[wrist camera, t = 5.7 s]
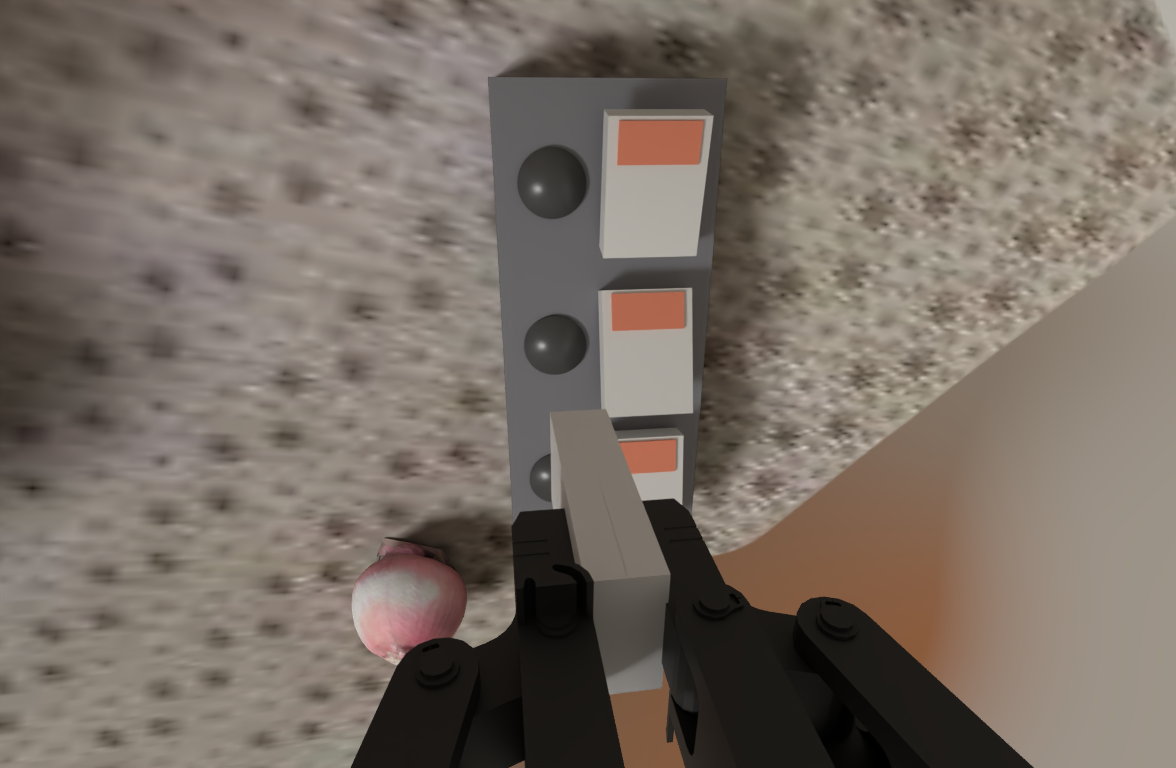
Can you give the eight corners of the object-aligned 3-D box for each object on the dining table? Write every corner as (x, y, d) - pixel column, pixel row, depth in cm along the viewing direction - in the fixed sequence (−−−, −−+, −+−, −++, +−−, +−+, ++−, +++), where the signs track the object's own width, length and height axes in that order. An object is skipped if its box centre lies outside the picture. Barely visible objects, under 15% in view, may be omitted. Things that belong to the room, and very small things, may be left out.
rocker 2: (601, 412, 37) (605, 418, 35) (598, 290, 36) (602, 290, 34) (685, 408, 37) (693, 413, 36) (684, 288, 36) (692, 287, 35)
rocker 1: (599, 246, 34) (603, 259, 33) (603, 108, 31) (608, 116, 29) (688, 244, 35) (696, 257, 34) (704, 109, 31) (714, 116, 30)
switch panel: (513, 509, 46) (514, 546, 42) (490, 79, 34) (487, 76, 31) (676, 498, 47) (690, 533, 43) (704, 81, 36) (728, 78, 32)
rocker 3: (599, 535, 41) (603, 548, 39) (597, 431, 39) (601, 440, 37) (675, 529, 41) (682, 542, 40) (676, 427, 40) (684, 436, 38)
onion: (418, 614, 50) (372, 695, 44) (358, 542, 47) (301, 617, 41) (498, 591, 47) (460, 675, 40) (438, 513, 44) (389, 590, 38)
